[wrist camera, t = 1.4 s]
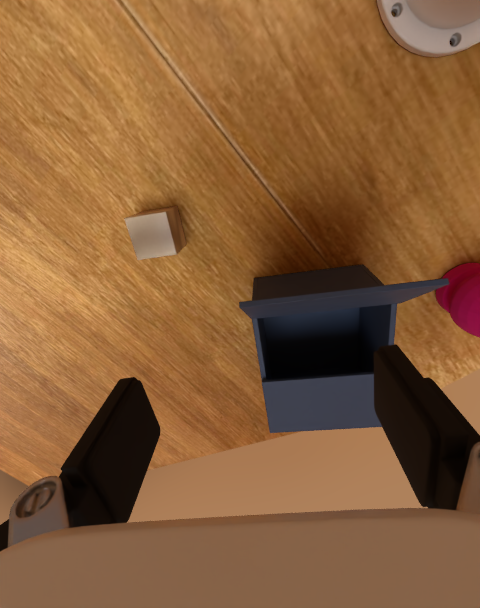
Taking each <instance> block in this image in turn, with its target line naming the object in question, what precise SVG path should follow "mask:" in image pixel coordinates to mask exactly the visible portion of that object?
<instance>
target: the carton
mask: <svg viewBox="0 0 480 608" xmlns="http://www.w3.org/2000/svg"><path fill="white" fill-rule="evenodd" d="M375 286H384V284H383V283H382V282H381V281H380V280H379V279H378V278H377V277H376V276H375V275H374V274H373V273H372V272H371V271H370V270H369V269H368V268H366V267H365V266H364V265H363V264H362V265H354V266H346V267H338V268H331V269H323V270H315V271H307V272H299V273H291V274H283V275H275V276H267V277H259V278H254V283H253V297H252V301H254V300H262V299H271V298H280V297H288V296H297V295H306V294H314V293H323V292H332V291H340V290H349V289H358V288H366V287H375ZM396 311H397V304H388V305H379V306H370V307H360V308H351V309H342V310H332V311H323V312H314V313H304V314H295V315H286V316H276V317H267V318H258V319H252V322H253V328H254V335H255V341H256V347H257V353H258V359H259V365H260V372H261V378H262V386H263V392H264V399H265V405H266V411H267V417H268V423H269V429H270V433H277V432H295V431H314V430H332V429H350V428H368V427H382V425H381V423H380V421H379V419H378V417H377V415H376V412H375V409H374V351H378V349H379V347H380V346H387V345H394V335H395V323H396Z"/></svg>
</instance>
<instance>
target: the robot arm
mask: <svg viewBox="0 0 480 608" xmlns="http://www.w3.org/2000/svg"><path fill="white" fill-rule="evenodd" d="M377 5H378V9H379V12H380V15H381V18H382V21H383V23H384V25H385V26H386V28H387V30H388V32H389V34H390V35H391V36H392V37H393V38H394V39H395V40H396V42H397V43H398V44H399V45H401V46H402V47H404V48H405V49H407V50H408V51H410V52H412V53H415V54H418V55H421V56H429V57H440V56H447V55H452V54H455V53H458V52H460V51H463V50H466V49H468V48H470V47H471V46H473V45H475V44H477V43H479V42H480V0H377ZM392 11H394V12H395V17H393V16H392V13H391V12H392ZM450 40H451V41H452V45H450ZM374 409H375V412H376V415H377V417H378V419H379V421H380V423H381V425H382V427H383V429H384V431H385V433H386V435H387V438H388V440H389V441H390V444H391V446H392V448H393V450H394V452H395V454H396V456H397V458H398V460H399V462H400V464H401V466H402V468H403V470H404V472H405V474H406V476H407V478H408V480H409V482H410V484H411V486H412V488H413V491H414V493H415V495H416V497H417V499H418V500H419V502H420V504H421V505H422V506H423V507H428V508H398V509H367V510H343V511H324V512H305V513H285V514H266V515H247V516H229V517H212V518H194V519H178V520H162V521H147V522H131V523H127V521H128V520H129V517H130V515H131V512H132V509H133V506H134V504H135V501H136V499H137V496H138V493H139V490H140V488H141V485H142V482H143V479H144V477H145V474H146V472H147V469H148V466H149V463H150V461H151V458H152V455H153V453H154V450H155V447H156V444H157V442H158V439H159V436H160V426H159V423H158V421H157V419H156V416H155V414H154V411H153V409H152V407H151V404H150V402H149V399H148V397H147V395H146V392H145V390H144V388H143V385H142V383H141V381H140V380H137V379H136V378H134V377H132V378H124V379H120V380H119V381H118V383H117V384H116V386H115V387H114V389H113V390H112V392H111V393H110V395H109V396H108V398H107V399H106V401H105V402H104V404H103V405H102V407H101V408H100V410H99V411H98V413H97V414H96V416H95V417H94V419H93V420H92V422H91V423H90V425H89V426H88V428H87V430H86V431H85V433H84V434H83V436H82V437H81V439H80V440H79V442H78V443H77V445H76V446H75V448H74V449H73V451H72V452H71V454H70V455H69V457H68V458H67V460H66V461H65V463H64V464H63V466H62V467H61V470H62V473H61V474H60V476H59V477H57V476H48V477H44V478H42V479H40V480H38V481H36V482H34V483H33V484H32V485H30V486H29V487H28V488H26V490H24V491H23V492H22V493H21V494H20V495H19V497H18V498H17V499H16V501H15V502H14V504H13V506H12V507H11V510H10V514H9V519H8V520H7V521H6V522H4V523H3V524H1V525H0V608H480V435H479V434H478V433H477V432H476V431H475V429H474V428H473V427H472V426H471V425H470V423H469V422H468V421H467V420H466V419H465V418H464V416H463V415H462V414H461V413H460V412H459V410H458V409H457V408H456V407H455V406H454V405H453V403H452V402H451V401H450V400H449V399H448V397H447V396H446V395H445V394H444V393H443V391H442V390H441V389H440V388H439V387H438V385H437V384H436V383H435V382H434V381H433V380H432V379H430V378H423V377H422V375H421V374H420V373H419V372H418V370H417V369H416V368H415V367H414V365H413V364H412V363H411V362H410V360H409V359H408V358H407V357H406V356H405V354H404V353H403V352H402V351H401V349H400V348H399V347H398V346H397V345H387V346H380V347H379V349H378V351H374Z"/></svg>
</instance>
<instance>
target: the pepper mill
mask: <svg viewBox="0 0 480 608" xmlns="http://www.w3.org/2000/svg"><path fill="white" fill-rule="evenodd" d="M444 278H448V280H449V285H446V286H443V287H441V288H438V289H436V299H437V301H438V303H439V304H440V306H441V307H443V308H444V309H445V310H446V311H448V312H449V313H450V314H451V318H452V319H453V321H454V322H455V323H456V324H457V325H458V326H459V327H460V328H462V329H463V330H465V331H466V332H468V333H470V334H472V335H475V336H477V337H480V264H479V263H466V264H462V265H459V266H457V267H455V268H453V269H452V270H450V271H449V272H447V273H446V274H445V275H444V276H443V278H442V279H444Z"/></svg>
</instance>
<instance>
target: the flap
mask: <svg viewBox="0 0 480 608" xmlns="http://www.w3.org/2000/svg"><path fill="white" fill-rule="evenodd" d="M446 285H449V280H448V278H444V279H435V280H427V281H418V282H410V283H401V284H392V285H384V286H375V287H366V288H358V289H349V290H340V291H332V292H323V293H314V294H306V295H297V296H288V297H280V298H271V299H262V300H254V301H245V302H239V306H240V308H241V309H242V310H243V311H244V312H245V313H246V314H247V315H248V316H249V317H250V318H251V319H258V318H267V317H276V316H286V315H295V314H304V313H314V312H323V311H332V310H342V309H351V308H360V307H370V306H379V305H388V304H398V303H402V302H405V301H408V300H410V299H413V298H415V297H418V296H420V295H423V294H425V293H428V292H431V291H433V290H436V289H438V288H441V287H443V286H446Z"/></svg>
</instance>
